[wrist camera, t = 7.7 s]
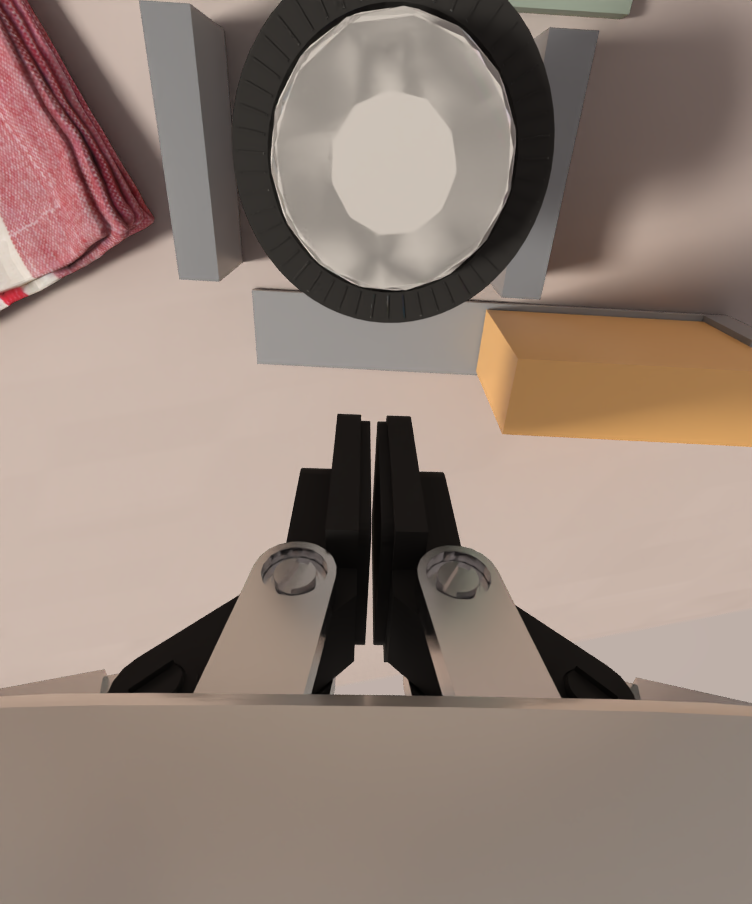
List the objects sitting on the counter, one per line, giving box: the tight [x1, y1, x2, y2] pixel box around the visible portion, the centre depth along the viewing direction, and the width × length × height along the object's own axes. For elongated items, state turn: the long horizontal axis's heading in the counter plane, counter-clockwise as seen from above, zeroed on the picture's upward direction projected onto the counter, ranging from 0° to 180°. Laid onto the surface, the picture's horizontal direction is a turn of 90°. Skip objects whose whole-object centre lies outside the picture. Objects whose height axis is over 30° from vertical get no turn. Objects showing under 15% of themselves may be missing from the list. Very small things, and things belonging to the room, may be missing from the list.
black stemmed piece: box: [232, 0, 555, 323], centre depth 12 cm, size 7×5×10 cm
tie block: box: [476, 310, 752, 447], centre depth 17 cm, size 2×8×5 cm, turn 87°
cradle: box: [139, 0, 752, 375], centre depth 16 cm, size 10×19×3 cm, turn 87°
